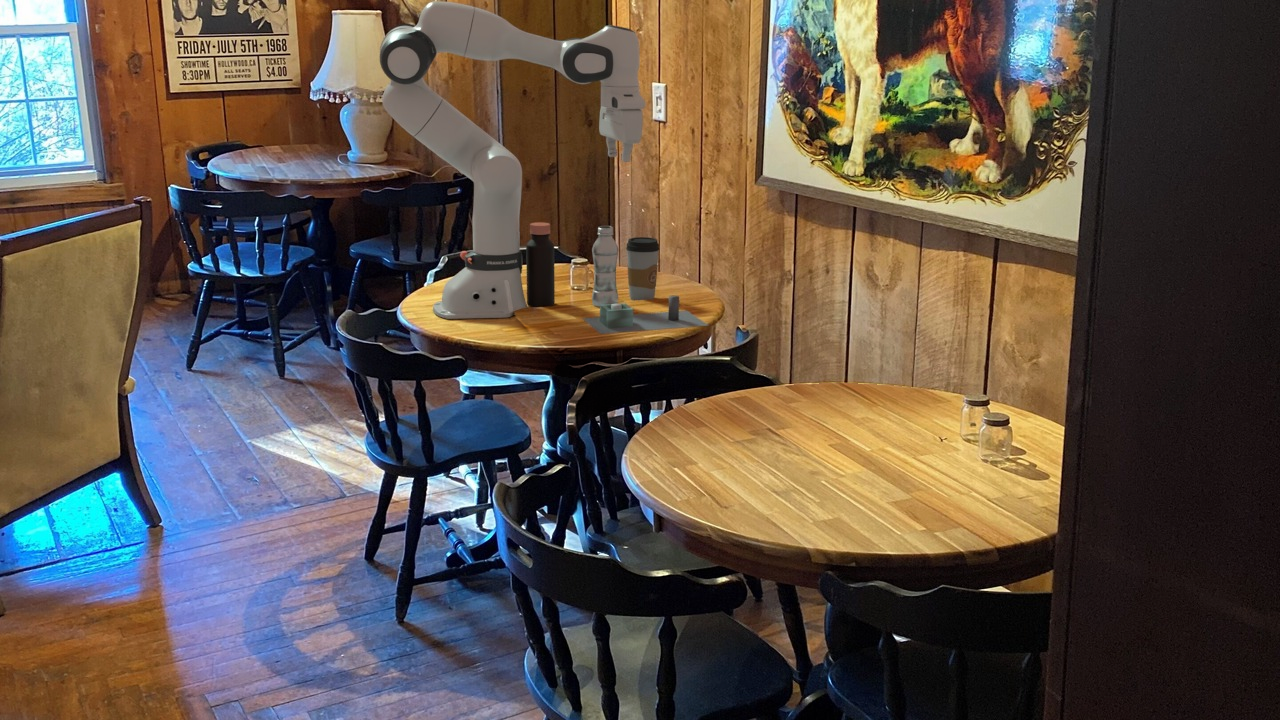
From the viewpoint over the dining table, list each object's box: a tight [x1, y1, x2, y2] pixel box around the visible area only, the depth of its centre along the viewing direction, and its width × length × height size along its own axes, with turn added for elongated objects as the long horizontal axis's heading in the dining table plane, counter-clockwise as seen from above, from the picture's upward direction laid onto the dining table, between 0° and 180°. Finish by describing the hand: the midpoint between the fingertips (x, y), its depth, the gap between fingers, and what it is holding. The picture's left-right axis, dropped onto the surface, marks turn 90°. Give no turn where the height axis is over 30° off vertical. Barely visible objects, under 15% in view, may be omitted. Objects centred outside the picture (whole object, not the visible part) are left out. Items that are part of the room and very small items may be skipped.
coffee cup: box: [625, 236, 660, 301], centre depth 295 cm, size 8×8×15 cm
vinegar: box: [525, 221, 556, 308], centre depth 287 cm, size 7×7×20 cm
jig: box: [582, 294, 710, 335], centre depth 271 cm, size 26×14×6 cm, turn 109°
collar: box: [599, 302, 634, 328], centre depth 269 cm, size 6×6×4 cm
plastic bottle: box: [591, 225, 619, 308], centre depth 284 cm, size 6×7×20 cm
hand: (619, 159), depth 275 cm, fingers open, 8 cm apart
